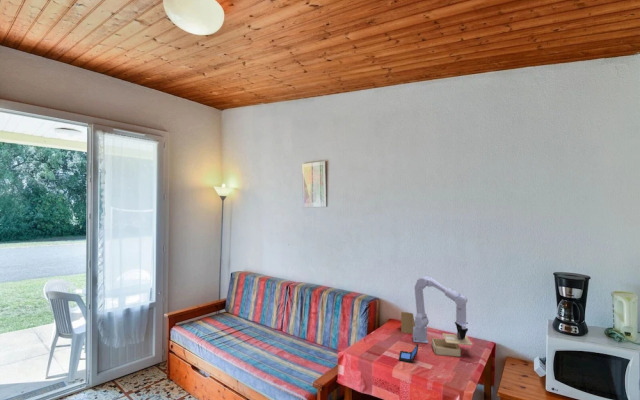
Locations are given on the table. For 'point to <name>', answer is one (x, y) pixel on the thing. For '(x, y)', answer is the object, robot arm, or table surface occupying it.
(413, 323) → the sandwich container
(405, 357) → the handheld game console
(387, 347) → the table surface
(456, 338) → the carton lid
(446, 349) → the carton
